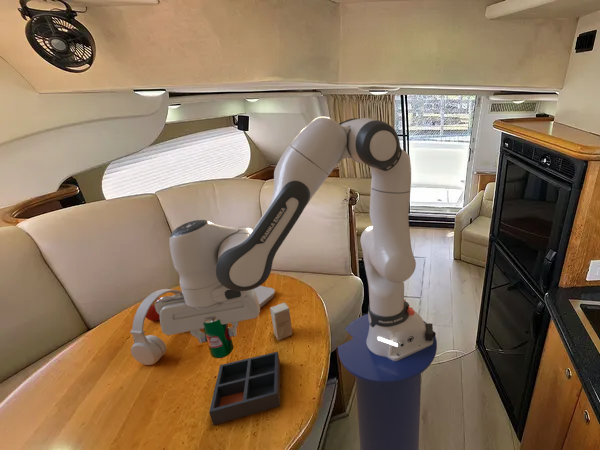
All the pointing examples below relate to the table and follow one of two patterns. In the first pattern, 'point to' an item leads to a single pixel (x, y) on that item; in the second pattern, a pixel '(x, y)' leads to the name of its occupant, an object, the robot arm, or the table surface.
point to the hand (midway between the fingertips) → (219, 337)
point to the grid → (246, 388)
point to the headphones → (148, 346)
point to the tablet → (264, 294)
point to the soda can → (217, 338)
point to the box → (281, 321)
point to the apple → (153, 312)
